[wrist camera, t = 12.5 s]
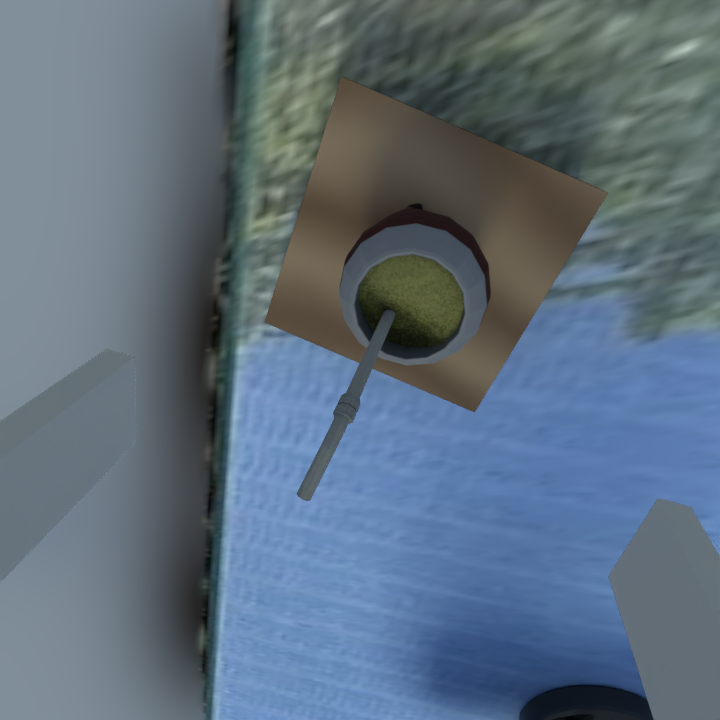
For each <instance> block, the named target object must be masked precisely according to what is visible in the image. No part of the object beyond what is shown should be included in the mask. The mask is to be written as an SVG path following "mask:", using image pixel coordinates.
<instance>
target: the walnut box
mask: <svg viewBox="0 0 720 720" xmlns="http://www.w3.org/2000/svg"><path fill="white" fill-rule="evenodd" d="M607 194H608V193H607V192H605V191H603V190H601V189H599V188H597V187H594V186H592V185H590V184H587V183H585V182H583V181H581V180H578V179H576V178H574V177H571V176H569V175H567V174H565V173H562V172H560V171H558V170H555V169H553V168H551V167H549V166H546V165H544V164H542V163H539V162H537V161H535V160H533V159H530V158H528V157H526V156H523V155H521V154H519V153H517V152H514V151H512V150H510V149H507V148H505V147H503V146H501V145H498V144H496V143H494V142H491V141H489V140H487V139H485V138H482V137H480V136H478V135H475V134H473V133H471V132H469V131H466V130H464V129H462V128H459V127H457V126H455V125H453V124H450V123H448V122H446V121H443V120H441V119H439V118H437V117H434V116H432V115H430V114H427V113H425V112H423V111H421V110H418V109H416V108H414V107H411V106H409V105H407V104H405V103H402V102H400V101H398V100H395V99H393V98H391V97H389V96H386V95H384V94H382V93H379V92H377V91H375V90H373V89H370V88H368V87H366V86H363V85H361V84H359V83H357V82H354V81H352V80H350V79H347V78H345V77H341V80H340V83H339V86H338V89H337V93H336V96H335V99H334V102H333V105H332V109H331V112H330V115H329V118H328V121H327V125H326V128H325V131H324V134H323V137H322V140H321V144H320V147H319V150H318V153H317V156H316V160H315V163H314V166H313V169H312V172H311V176H310V179H309V182H308V185H307V188H306V192H305V195H304V198H303V201H302V204H301V208H300V211H299V214H298V217H297V220H296V224H295V227H294V230H293V233H292V236H291V239H290V243H289V246H288V249H287V252H286V255H285V259H284V262H283V265H282V268H281V271H280V275H279V278H278V281H277V284H276V287H275V291H274V294H273V297H272V300H271V303H270V307H269V310H268V313H267V316H266V319H265V323H267V324H269V325H272V326H274V327H277V328H279V329H281V330H284V331H286V332H288V333H291V334H293V335H295V336H298V337H300V338H302V339H305V340H307V341H309V342H312V343H314V344H316V345H319V346H321V347H323V348H326V349H328V350H330V351H333V352H335V353H337V354H340V355H342V356H344V357H347V358H349V359H351V360H354V361H356V362H358V363H360V362H361V360H362V358H363V356H364V354H365V351H366V349H367V348H366V347H364V346H363V345H362V344H360V343H359V342H358V340H357V339H356V337H355V336H354V334H353V333H352V331H351V330H350V328H349V327H348V325H347V324H346V322H345V320H344V316H343V311H342V306H341V301H340V297H339V290H340V288H339V287H340V282H341V277H342V272H343V267H344V263H345V259H346V257H347V255H348V253H349V252H350V250H351V249H352V247H353V246H354V245H355V243H356V242H357V240H358V239H359V238H360V236H361V235H362V233H363V232H364V231H366V230H367V229H369V228H370V227H372V226H373V225H375V224H377V223H378V222H380V221H381V220H383V219H385V218H386V217H388V216H389V215H391V214H393V213H395V212H398V211H401V210H404V209H405V208H407V207H408V206H409V205H411V204H417V203H419V204H422V207H423V210H426V211H430V212H433V213H437V214H441V215H444V216H448V217H450V218H452V219H453V220H454V221H455V222H457V223H458V224H459V225H461V226H462V227H463V228H465V229H466V230H467V231H468V232H470V233H471V234H472V235H473V236H474V238H475V240H476V242H477V243H478V245H479V247H480V249H481V251H482V253H483V254H484V256H485V258H486V260H487V262H488V264H489V275H490V288H491V296H490V300H489V303H488V306H487V308H486V311H485V314H484V317H483V320H482V322H481V325H480V326H479V329H478V331H477V332H476V334H475V335H474V336H473V337H472V338H471V339H470V340H469V341H468V342H467V343H466V344H465V345H464V346H463V348H462V349H461V350H460V351H459V352H457V353H455V354H453V355H450V356H448V357H446V358H444V359H442V360H440V361H438V362H436V363H432V364H419V365H403V364H400V363H396V362H392V361H389V360H385V359H381V358H380V357H377V359H376V361H375V364H374V366H373V368H372V369H375V370H377V371H379V372H382V373H384V374H386V375H389V376H391V377H393V378H396V379H398V380H400V381H403V382H405V383H407V384H410V385H412V386H414V387H417V388H419V389H421V390H424V391H426V392H428V393H431V394H433V395H435V396H438V397H440V398H442V399H445V400H447V401H449V402H452V403H454V404H456V405H459V406H461V407H463V408H466V409H468V410H470V411H473V412H475V411H476V409H477V408H478V406H479V404H480V403H481V401H482V399H483V398H484V396H485V394H486V393H487V391H488V390H489V388H490V386H491V385H492V383H493V381H494V380H495V378H496V376H497V375H498V373H499V371H500V370H501V368H502V367H503V365H504V363H505V362H506V360H507V358H508V357H509V355H510V353H511V352H512V350H513V348H514V347H515V345H516V344H517V342H518V340H519V339H520V337H521V335H522V334H523V332H524V330H525V329H526V327H527V325H528V324H529V322H530V321H531V319H532V317H533V316H534V314H535V312H536V311H537V309H538V307H539V306H540V304H541V302H542V301H543V299H544V298H545V296H546V294H547V293H548V291H549V289H550V288H551V286H552V284H553V283H554V281H555V279H556V278H557V276H558V275H559V273H560V271H561V270H562V268H563V266H564V265H565V263H566V261H567V260H568V258H569V256H570V255H571V253H572V252H573V250H574V248H575V247H576V245H577V243H578V242H579V240H580V238H581V237H582V235H583V233H584V232H585V230H586V229H587V227H588V225H589V224H590V222H591V220H592V219H593V217H594V215H595V214H596V212H597V210H598V209H599V207H600V206H601V204H602V202H603V201H604V199H605V197H606V196H607Z"/></svg>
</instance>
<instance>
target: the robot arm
mask: <svg viewBox="0 0 720 720" xmlns="http://www.w3.org/2000/svg"><path fill="white" fill-rule="evenodd" d="M135 443H136V407H135V357H134V356H131V355H127V354H123V353H120V352H116V351H112V350H109V349H106V350H104V351H103V352H101V353H100V354H98V355H97V356H95V357H94V358H92V359H91V360H89V361H88V362H86V363H85V364H83V365H82V366H81V367H79V368H78V369H76V370H75V371H73V372H72V373H70V374H69V375H67V376H66V377H64V378H63V379H61V380H60V381H59V382H57V383H56V384H54V385H53V386H51V387H50V388H48V389H47V390H45V391H44V392H42V393H41V394H39V395H38V396H37V397H35V398H34V399H32V400H30V401H29V402H28V403H26V404H25V405H23V406H22V407H20V408H19V409H17V410H16V411H14V412H13V413H12V414H10V415H9V416H7V417H6V418H4V419H3V420H1V421H0V582H1V581H2V580H3V579H4V578H5V577H6V576H7V575H8V574H9V573H10V572H11V571H12V570H13V569H14V568H15V567H16V565H18V564H19V563H20V562H21V561H22V560H23V558H24V557H25V556H26V555H27V554H28V553H29V552H30V551H31V550H32V549H33V548H34V547H35V546H36V545H37V544H38V543H39V542H40V541H41V540H42V539H43V538H44V537H45V536H46V535H47V534H48V533H49V532H50V531H51V530H52V529H53V528H54V527H55V526H56V525H57V524H58V523H59V522H60V520H61V519H62V518H63V517H64V516H65V515H66V514H67V513H68V512H69V511H70V510H71V509H72V508H73V507H74V506H75V505H76V504H77V503H78V502H79V501H80V500H81V499H82V498H83V497H84V496H85V495H86V493H88V492H89V491H90V490H91V489H92V488H93V487H94V485H95V484H96V483H97V482H98V481H99V480H100V479H101V478H102V477H103V476H104V475H105V474H106V473H107V472H108V471H109V470H110V469H111V468H112V467H113V466H114V465H115V464H116V463H117V462H118V461H119V460H120V459H121V458H122V457H123V456H124V454H126V453H127V451H128V450H129V449H130V448H131V447H132V446H133V445H134V444H135ZM608 577H609V580H610V583H611V586H612V589H613V592H614V596H615V599H616V602H617V605H618V608H619V611H620V615H621V618H622V621H623V624H624V627H625V630H626V634H627V637H628V640H629V643H630V646H631V649H632V653H633V656H634V659H635V662H636V665H637V669H638V672H639V675H640V678H641V681H642V684H643V688H644V691H645V694H646V697H647V700H648V701H647V700H645V699H643V698H641V697H639V696H637V695H634V694H631V693H628V692H625V691H621V690H617V689H612V688H606V687H597V686H576V687H567V688H561V689H557V690H553V691H550V692H547V693H545V694H542V695H540V696H538V697H537V698H535V699H533V700H532V701H531V702H529V703H528V704H527V705H526V706H525V708H524V709H523V710H522V712H521V714H520V718H519V720H720V556H719V555H718V553H717V551H716V550H715V548H714V546H713V544H712V543H711V541H710V539H709V537H708V536H707V534H706V532H705V530H704V529H703V527H702V525H701V524H700V522H699V520H698V518H697V517H696V515H695V513H694V511H693V510H692V508H691V507H689V506H686V505H682V504H678V503H674V502H671V501H667V500H663V499H660V498H658V499H657V501H656V502H655V504H654V505H653V507H652V508H651V510H650V511H649V513H648V515H647V516H646V518H645V519H644V521H643V522H642V524H641V526H640V527H639V529H638V530H637V532H636V533H635V535H634V537H633V538H632V540H631V541H630V543H629V544H628V546H627V548H626V549H625V551H624V552H623V554H622V555H621V557H620V559H619V560H618V562H617V563H616V565H615V566H614V568H613V570H612V571H611V573H610V574H609V576H608Z"/></svg>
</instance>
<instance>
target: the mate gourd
mask: <svg viewBox="0 0 720 720" xmlns="http://www.w3.org/2000/svg"><path fill="white" fill-rule="evenodd" d="M339 288H340V290H339V297H340V301H341V306H342V311H343V316H344V320H345V322H346V324H347V325H348V327H349V328H350V330H351V331H352V333H353V334H354V336H355V337H356V339H357V340H358V342H359V343H360V344H362V345H363V346H364V347H366V348H367V349H366V351H365V354H364V356H363V358H362V360H361V362H360V364H359V366H358V369H357V371H356V373H355V375H354V377H353V379H352V382H351V384H350V386H349V388H348V390H347V392H346V393H345V394H343V395H342V396H341V398H340V400H339V402H338V405H337V406H336V408H335V410H334V412H333V414H334V417H335V418H334V420H333V422H332V424H331V426H330V428H329V430H328V432H327V434H326V436H325V438H324V441H323V443H322V445H321V447H320V449H319V450H318V452H317V454H316V456H315V458H314V460H313V462H312V464H311V466H310V468H309V470H308V472H307V474H306V476H305V478H304V480H303V482H302V484H301V486H300V488H299V490H298V492H297V495H298V497H300V498H301V499H303V500H306V501H310V500H311V498H312V496H313V494H314V492H315V490H316V488H317V486H318V484H319V482H320V480H321V478H322V476H323V474H324V472H325V470H326V468H327V466H328V464H329V462H330V460H331V458H332V456H333V454H334V452H335V450H336V448H337V446H338V444H339V442H340V440H341V438H342V436H343V434H344V432H345V430H346V427H347V425H348V424H349V423H352V422H353V420H354V418H355V416H356V413H357V411H358V409H359V406H360V399H359V398H360V396H361V394H362V391H363V389H364V387H365V384H366V382H367V380H368V377H369V375H370V373H371V370H372V368H373V366H374V364H375V361H376V359H377V357H380V358H381V359H385V360H389V361H392V362H396V363H400V364H403V365H419V364H432V363H436V362H438V361H440V360H442V359H444V358H446V357H448V356H450V355H453V354H455V353H457V352H459V351H460V350H461V349H462V348H463V346H464V345H465V344H466V343H467V342H468V341H469V340H470V339H471V338H472V337H473V336H474V335H475V334H476V332H477V331H478V329H479V326H480V325H481V322H482V320H483V317H484V314H485V311H486V308H487V306H488V303H489V300H490V296H491V288H490V275H489V264H488V262H487V260H486V258H485V256H484V254H483V253H482V251H481V249H480V247H479V245H478V243H477V242H476V240H475V238H474V236H473V235H472V234H471V233H470V232H468V231H467V230H466V229H465V228H463V227H462V226H461V225H459V224H458V223H457V222H455V221H454V220H453V219H452V218H450V217H448V216H444V215H441V214H437V213H433V212H430V211H426V210H423V207H422V204H419V203H417V204H411V205H409V206H408V207H407V208H405V209H404V210H401V211H398V212H395V213H393V214H391V215H389V216H388V217H386V218H385V219H383V220H381V221H380V222H378V223H377V224H375V225H373V226H372V227H370V228H369V229H367V230H366V231H364V232H363V233H362V235H361V236H360V238H359V239H358V240H357V242H356V243H355V245H354V246H353V247H352V249H351V250H350V252H349V253H348V255H347V257H346V259H345V263H344V267H343V272H342V277H341V282H340V287H339Z"/></svg>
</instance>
